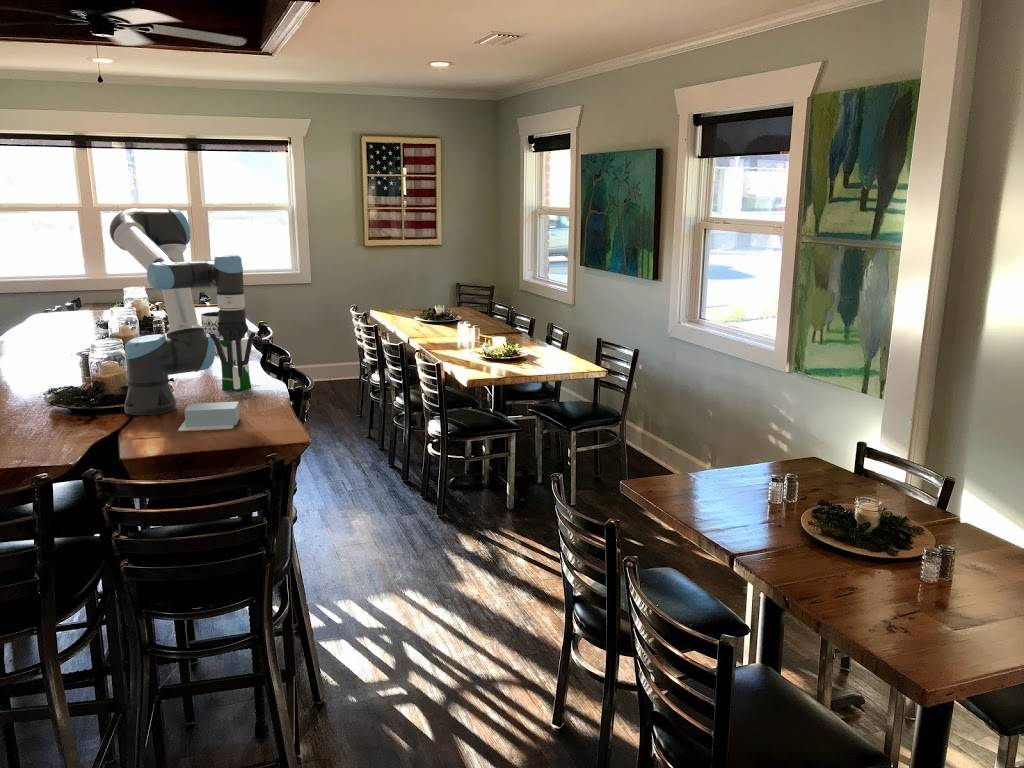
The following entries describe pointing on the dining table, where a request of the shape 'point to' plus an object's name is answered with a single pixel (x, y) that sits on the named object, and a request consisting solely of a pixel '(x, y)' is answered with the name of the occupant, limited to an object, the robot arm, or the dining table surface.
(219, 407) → the slab
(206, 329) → the planter
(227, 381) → the milk carton
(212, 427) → the mat
